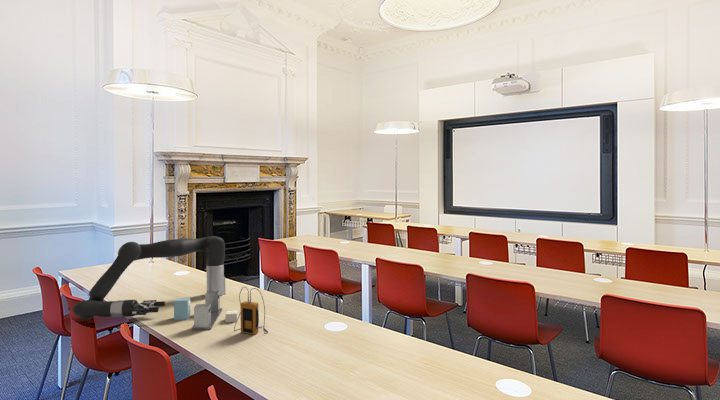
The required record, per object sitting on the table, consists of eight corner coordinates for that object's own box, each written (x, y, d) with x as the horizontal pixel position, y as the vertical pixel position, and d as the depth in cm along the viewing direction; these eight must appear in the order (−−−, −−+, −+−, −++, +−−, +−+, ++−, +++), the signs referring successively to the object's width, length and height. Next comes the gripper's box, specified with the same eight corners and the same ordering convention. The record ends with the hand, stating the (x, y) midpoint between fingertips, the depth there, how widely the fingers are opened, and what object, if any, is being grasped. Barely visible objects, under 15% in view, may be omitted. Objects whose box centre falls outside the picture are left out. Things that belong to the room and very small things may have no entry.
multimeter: (275, 328, 173) (274, 283, 172) (262, 336, 164) (262, 289, 163) (246, 324, 178) (246, 280, 177) (233, 332, 169) (232, 286, 168)
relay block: (227, 319, 185) (227, 310, 185) (238, 318, 186) (238, 310, 186) (225, 322, 180) (225, 314, 180) (236, 322, 181) (236, 313, 181)
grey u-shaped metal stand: (205, 310, 196) (205, 291, 195) (222, 310, 197) (222, 290, 197) (191, 330, 170) (191, 307, 170) (211, 329, 171) (210, 306, 171)
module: (177, 316, 187) (176, 298, 187) (191, 316, 188) (190, 297, 188) (174, 320, 183) (173, 301, 182) (188, 319, 184) (188, 300, 183)
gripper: (117, 305, 174) (156, 303, 177) (130, 295, 188) (166, 294, 191) (117, 321, 174) (156, 319, 177) (130, 311, 189) (166, 309, 191)
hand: (161, 306), depth 184 cm, fingers open, 8 cm apart
